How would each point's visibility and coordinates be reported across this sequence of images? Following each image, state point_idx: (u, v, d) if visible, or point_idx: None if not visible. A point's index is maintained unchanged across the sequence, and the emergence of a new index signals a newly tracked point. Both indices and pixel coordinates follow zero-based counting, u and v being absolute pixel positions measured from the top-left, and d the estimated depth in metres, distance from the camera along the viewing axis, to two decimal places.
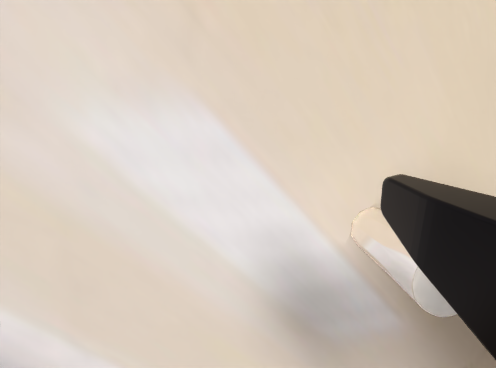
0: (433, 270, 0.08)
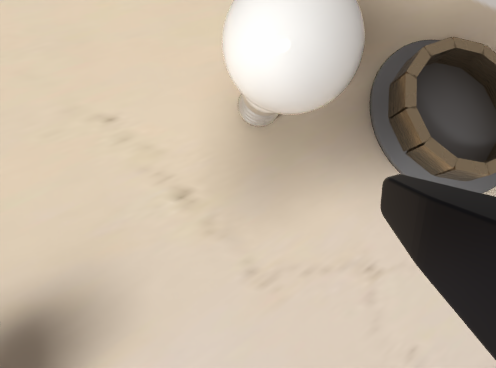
0: (433, 270, 0.08)
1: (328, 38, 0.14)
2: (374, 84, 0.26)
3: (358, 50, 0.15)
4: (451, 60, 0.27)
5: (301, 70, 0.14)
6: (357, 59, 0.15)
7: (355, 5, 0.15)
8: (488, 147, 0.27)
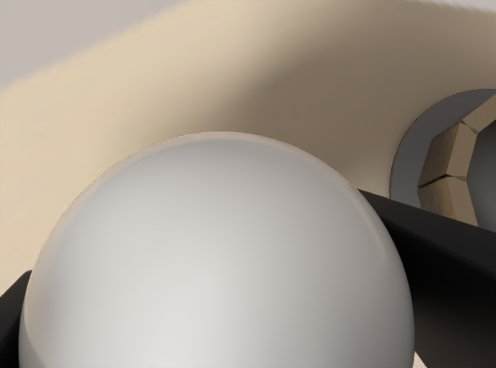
0: None
1: None
2: (392, 191, 0.16)
3: None
4: None
5: None
6: None
7: (374, 255, 0.05)
8: None
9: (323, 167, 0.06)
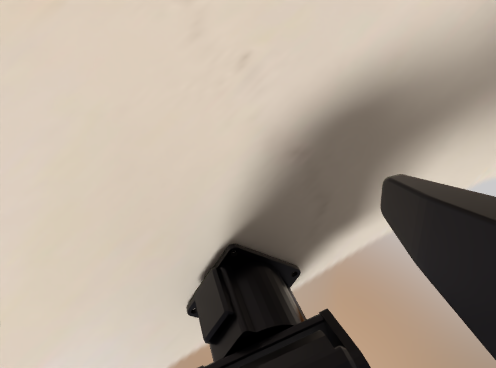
0: (433, 270, 0.08)
1: None
2: None
3: None
4: None
5: None
6: None
7: None
8: None
9: None
